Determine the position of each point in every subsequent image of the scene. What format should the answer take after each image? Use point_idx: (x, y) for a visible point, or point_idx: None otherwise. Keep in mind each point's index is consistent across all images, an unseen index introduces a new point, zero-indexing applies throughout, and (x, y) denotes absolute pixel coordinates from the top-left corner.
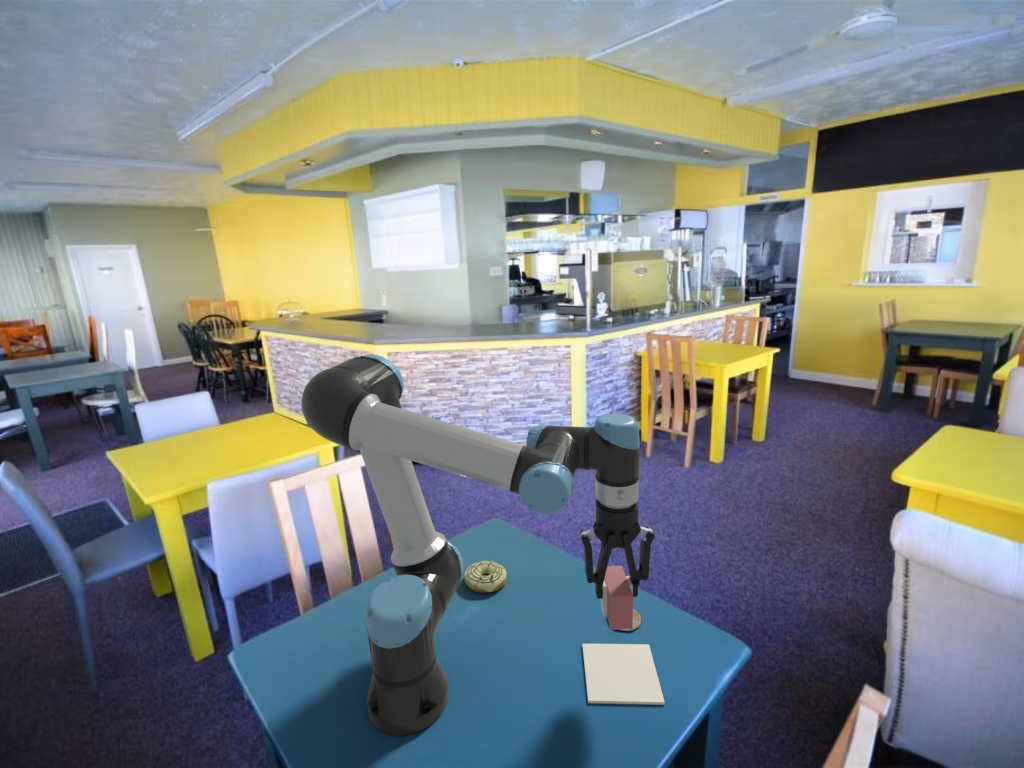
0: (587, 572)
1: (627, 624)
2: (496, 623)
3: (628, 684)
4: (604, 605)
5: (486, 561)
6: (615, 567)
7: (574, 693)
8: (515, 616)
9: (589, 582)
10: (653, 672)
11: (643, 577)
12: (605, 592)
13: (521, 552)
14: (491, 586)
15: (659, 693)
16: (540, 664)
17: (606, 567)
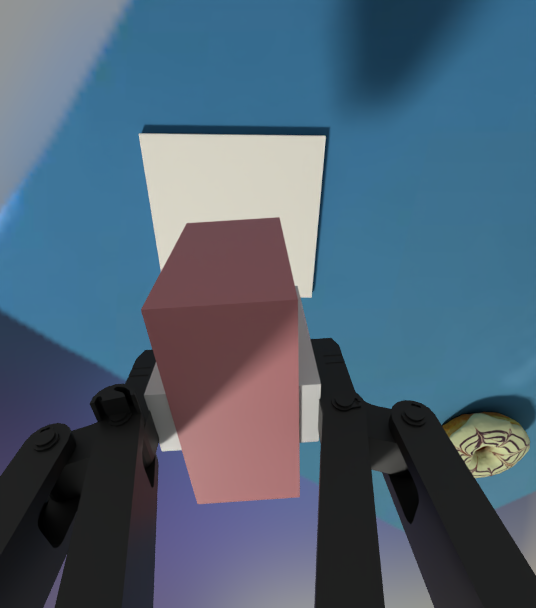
0: (467, 473)
1: (205, 229)
2: (479, 345)
3: (222, 187)
4: (299, 311)
5: (477, 476)
6: (230, 494)
7: (351, 164)
8: (435, 361)
9: (415, 403)
10: (160, 222)
11: (57, 442)
12: (302, 356)
13: (388, 492)
14: (479, 423)
15: (149, 160)
16: (412, 245)
17: (323, 522)
